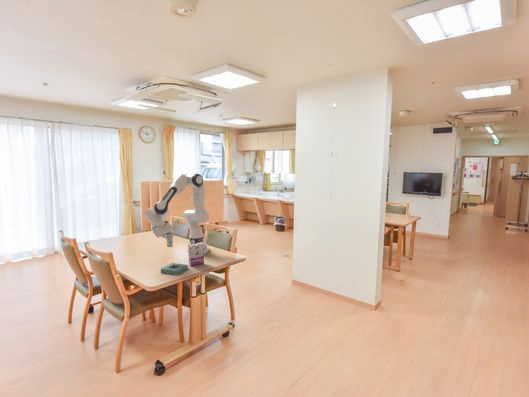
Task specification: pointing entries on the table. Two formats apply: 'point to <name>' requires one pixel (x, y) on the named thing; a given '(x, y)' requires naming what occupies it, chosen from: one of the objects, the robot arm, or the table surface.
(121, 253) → the table surface
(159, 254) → the table surface
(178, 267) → the block
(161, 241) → the table surface
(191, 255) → the candy bar box
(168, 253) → the table surface
